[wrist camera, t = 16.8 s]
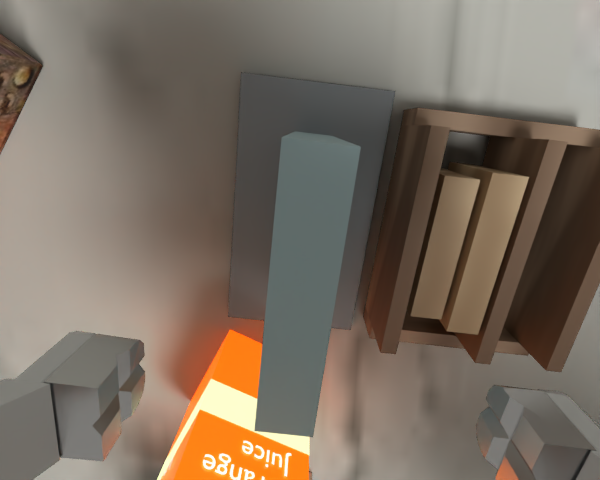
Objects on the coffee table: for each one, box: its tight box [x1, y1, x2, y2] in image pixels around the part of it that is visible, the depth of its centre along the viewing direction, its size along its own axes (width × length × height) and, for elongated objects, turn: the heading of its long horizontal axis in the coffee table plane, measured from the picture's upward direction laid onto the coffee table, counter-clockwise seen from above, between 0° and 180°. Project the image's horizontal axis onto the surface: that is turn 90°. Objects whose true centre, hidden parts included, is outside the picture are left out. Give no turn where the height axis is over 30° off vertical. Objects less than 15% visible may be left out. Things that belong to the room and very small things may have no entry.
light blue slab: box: [254, 131, 361, 437], centre depth 19 cm, size 2×12×13 cm, turn 174°
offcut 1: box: [407, 168, 480, 320], centre depth 23 cm, size 2×9×6 cm, turn 173°
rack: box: [363, 108, 600, 372], centre depth 23 cm, size 12×16×6 cm
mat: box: [228, 72, 395, 330], centre depth 25 cm, size 10×18×1 cm, turn 173°
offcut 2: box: [439, 162, 529, 335], centre depth 23 cm, size 2×10×6 cm, turn 173°
